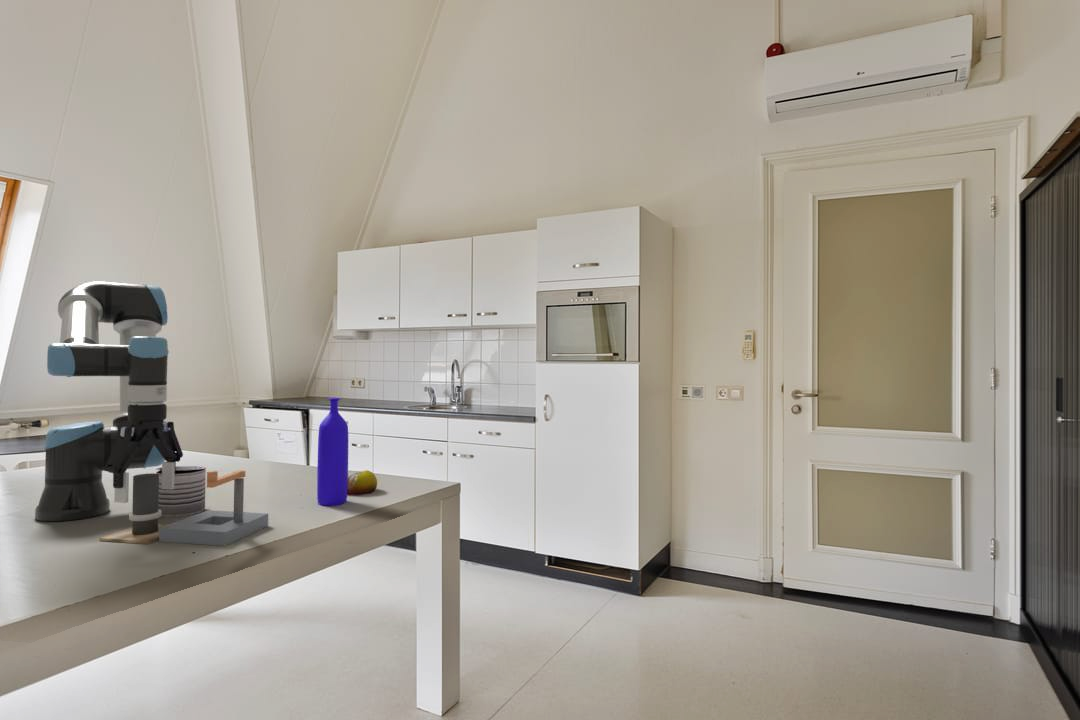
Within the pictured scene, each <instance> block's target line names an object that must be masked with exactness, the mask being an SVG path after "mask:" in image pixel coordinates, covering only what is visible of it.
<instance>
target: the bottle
mask: <svg viewBox="0 0 1080 720" xmlns="http://www.w3.org/2000/svg"><path fill="white" fill-rule="evenodd" d="M340 400H341V398H340V397H329V398H328V401H330V410H329V413H328V414H327V415H326V416H325V417H324V418H323V420H322V421H321V423H320V424H319V427H318V437H317V470H316V471H317V475H316V476H317V478H316V479H317V480H316V483H317V487H316V495H317V498H316V499H317V504H318V505H319V506H327V507H330V506H331V507H334V506H340V505H343V504H345V503H347V499H348V494H347V487H348V474H349V425H348V423H347V421H346V420H345V418H343V416H342V415H341V414H340V413H339V408H338V405H339V404H338V403H339V401H340Z"/></svg>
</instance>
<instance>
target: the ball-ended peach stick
mask: <svg viewBox="0 0 1080 720" xmlns="http://www.w3.org/2000/svg"><path fill="white" fill-rule="evenodd" d="M218 472H219V471H217V470H211V471H209V470H208V471H206V488H216V487H219V486H222V485H224V484H227V483H229V482H232V481H234V480H235V479H238V478H245V477H246V470H234V471H232V472H231V473H228V474H226V475H221V476H219V477H218Z"/></svg>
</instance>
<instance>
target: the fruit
mask: <svg viewBox="0 0 1080 720" xmlns="http://www.w3.org/2000/svg"><path fill="white" fill-rule="evenodd" d="M377 487H378V478H377V477H376V475H375V473H374V472H372V471H370V470H363V471H362V470H361V471H360V470H359V471H358V470H356V471H355V472H350V473H348V487H347V496H361V495H368V494H372V493H374V492H375V491H376V490H377Z"/></svg>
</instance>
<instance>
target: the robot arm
mask: <svg viewBox="0 0 1080 720" xmlns="http://www.w3.org/2000/svg"><path fill="white" fill-rule="evenodd" d="M57 313H58V316H59V318H60V319H61V327H60V328H61V329H60V336H59V337H60V339H59V342H57V343H56V342H55V343H51V344H49V345H48V346H47V352H46V353H47V357H46V359H47V360H46V361H47V362H46V366H47V369H46V370H47V373H48V375H51V376H54V377H67V378H71V377H72V378H73V377H119V414H118V415H117V416H116V417H115V418H113V420H112V425H111V426H109V425H108V426H105V424H104V422H103V421H101V420H96V421H85V422H78V423H70V424H66V425H59V426H56V427H54V428H53V427H52V428H51V429H49V430H48V432H47V433H46V436H45V446H43V447H44V450H45V464H44V465H45V467H44V488H43V490H42V493H41V496H40V499H39V502H38V505H37V506H36V507H35V509H34V510H35V511H34V519H35V520H37V521H41V522H65V521H74V520H81V519H87V518H92V517H96V516H97V517H98V516H100V515H103V514H106V513H108V512H109V511H110V506H111V504H110V503H111V502H110V500H109V498H107V492H106V489H105V486H104V483H103V472H108V473H110V474H112V475H113V476H112V478H113V479H112V483H113V484H112V486H113V489H114V501H113V502H114V503H120V504H121V503H122V504H127V503H129V486H130V485H129V483H130V482H129V480H130V478H129V477H130V473H129V472H127V470H130V469H131V470H132V469H146V468H151V467H159V466H161V468H162V489H169V490H172V489H174V474H175V471H176V470H175V469H176V463H177V462H180V461H181V458H183V457H184V453H183V450H182V448H181V445H180V442H179V440H178V437H177V434H176V432H175V431H176V430H175V424H174V421H164V420H166V419H167V409H168V408H167V406H168V405H166V404H167V403H165V402H167V392H168V391H167V389H168V387H167V384H168V381H167V380H168V357H169V356H168V355H169V348H168V340H167V338H165V337H163V336H157V334H159V333H160V332H161V331H162V327H163V326H166V325H167V323H168V305H167V299H166V296H165V293H164V291H163V289H162V288H161V287H160V286H156V285H148V284H144V283H143V284H136V283H121V282H110V281H109V282H108V281H98V280H97V281H90V282H84V283H82V284H79V285H77V286H75V287H72V288H71V289H70V290H68V291H67V292H65V293H64V295H62V296H61V298H60V300H59V301H58V306H57ZM99 323H105V324H107V323H108V324H113V325H112V326H113V330H114V331H115V332H116V333H117V334H119V344H100V341H99V340H100V338H99V335H100V334H99Z"/></svg>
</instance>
